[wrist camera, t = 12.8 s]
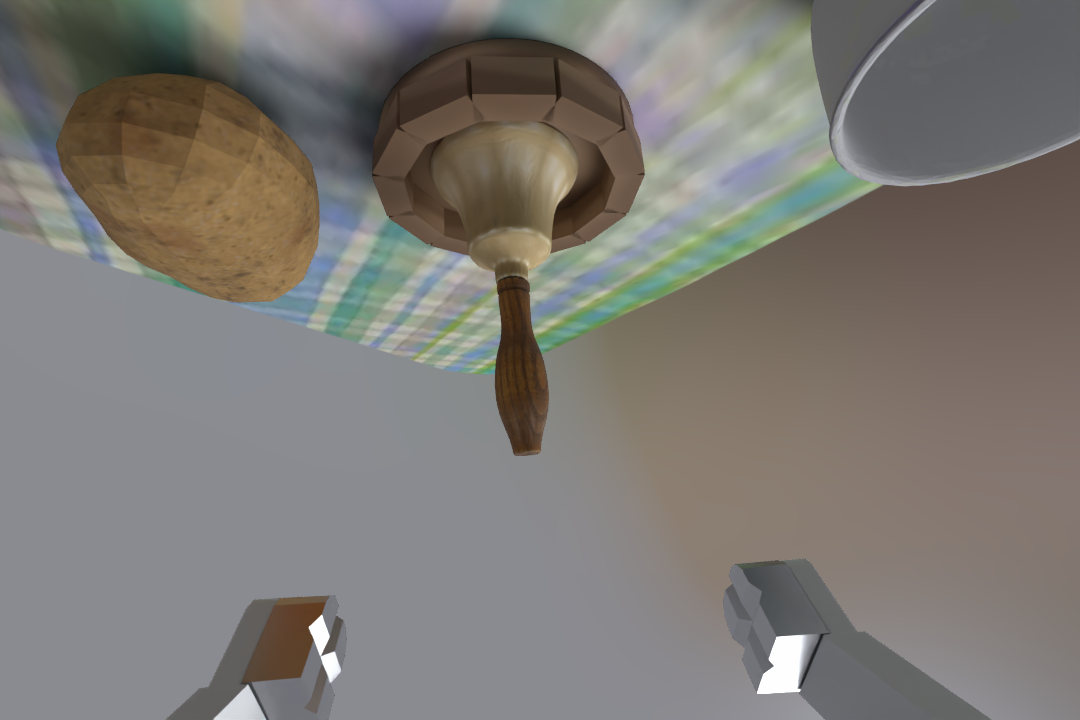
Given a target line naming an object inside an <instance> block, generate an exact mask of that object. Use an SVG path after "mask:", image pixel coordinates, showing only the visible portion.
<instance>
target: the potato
mask: <svg viewBox="0 0 1080 720" xmlns="http://www.w3.org/2000/svg"><path fill="white" fill-rule="evenodd" d="M56 148H57V152H58V156H59V160H60V164H61V168H62V171H63V173H64V175H65V176H66V178H67V179H68V181H69V182H70V184H71V185H72V187H73V188H74V190H75V191H76V193H77V194H78V195H79V197H80V198H81V199H82V200H83V202H84V203H85V204H86V205H87V206H88V208H89V209H90V210H91V211H92V213H93V214H94V215H95V216H96V218H97V220H98V221H99V223H100V224H101V226H102V227H103V229H104V230H105V232H106V233H107V235H108V236H109V237H110V238H111V239H112V240H113V241H114V242H115V243H116V244H117V245H118V246H119V247H120V248H121V249H122V250H123V251H124V252H125V253H126V254H127V255H129V256H130V257H132V258H134V259H135V260H137V261H139V262H140V263H142V264H143V265H145V266H147V267H149V268H151V269H154V270H156V271H158V272H161V273H163V274H165V275H168V276H170V277H172V278H174V279H175V280H177V281H179V282H180V283H182V284H184V285H186V286H187V287H189V288H191V289H193V290H196V291H198V292H200V293H203V294H205V295H207V296H210V297H213V298H217V299H222V300H227V301H232V302H264V301H273V300H275V299H277V298H278V297H280V296H281V295H283V294H285V293H286V292H288V291H289V290H291V289H292V288H294V287H295V286H296V285H297V284H298V283H300V282H301V281H302V280H303V279H304V277H305V274H306V272H307V270H308V267H309V265H310V263H311V260H312V258H313V256H314V253H315V251H316V249H317V245H318V235H319V199H318V191H317V184H316V180H315V176H314V172H313V168H312V164H311V163H310V161H309V160H308V159H307V158H306V156H305V155H304V154H303V153H302V151H301V150H300V149H299V148H298V146H297V145H296V144H295V143H294V141H293V140H292V139H291V138H290V137H289V136H288V135H287V134H286V133H284V132H283V131H282V130H281V129H280V128H279V127H278V126H277V125H276V124H275V123H274V122H273V121H272V120H270V119H269V118H268V117H267V116H266V115H265V114H264V113H263V112H262V111H261V110H260V109H259V108H258V107H256V106H255V105H254V104H253V103H252V102H251V101H250V100H249V99H248V98H247V97H245V96H243V95H241V94H240V93H238V92H236V91H234V90H232V89H231V88H229V87H227V86H225V85H223V84H222V83H220V82H217V81H212V80H207V79H202V78H198V77H193V76H188V75H177V74H161V73H155V74H145V75H136V76H126V77H117V78H113V79H111V80H109V81H107V82H105V83H103V84H101V85H99V86H97V87H95V88H93V89H91V90H89V91H87V92H85V93H83V94H81V95H79V96H78V97H77V99H76V101H75V103H74V105H73V106H72V108H71V110H70V112H69V114H68V116H67V117H66V120H65V122H64V125H63V127H62V130H61V133H60V135H59V138H58V140H57V143H56Z"/></svg>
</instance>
